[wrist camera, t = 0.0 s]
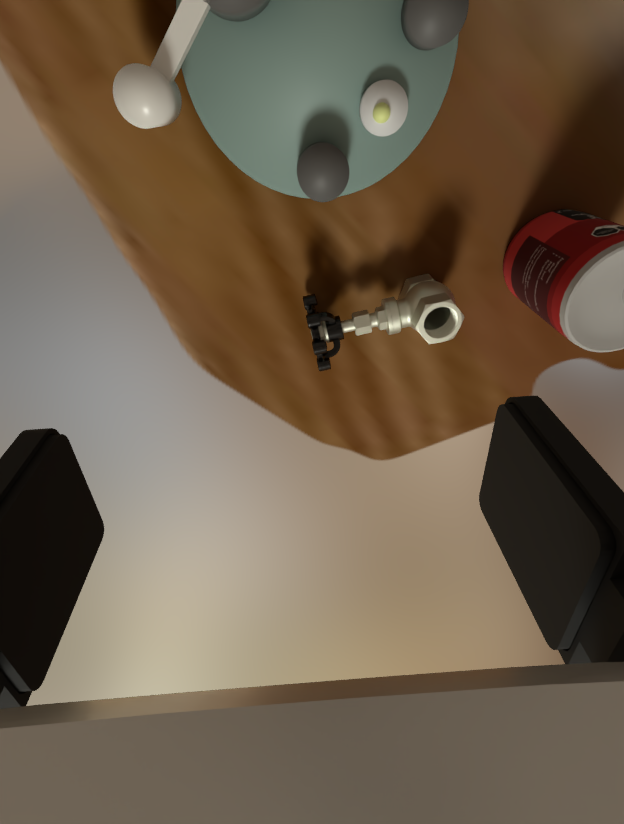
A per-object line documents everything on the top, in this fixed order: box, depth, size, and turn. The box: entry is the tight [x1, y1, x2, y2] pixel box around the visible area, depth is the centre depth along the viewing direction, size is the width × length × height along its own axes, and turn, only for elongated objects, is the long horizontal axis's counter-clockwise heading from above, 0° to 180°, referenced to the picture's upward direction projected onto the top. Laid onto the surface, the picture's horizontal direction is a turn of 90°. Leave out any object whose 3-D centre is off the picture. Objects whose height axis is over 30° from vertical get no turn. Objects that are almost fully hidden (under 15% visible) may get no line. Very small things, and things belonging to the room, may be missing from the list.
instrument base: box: [176, 0, 468, 202], centre depth 30 cm, size 18×18×4 cm
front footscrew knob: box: [113, 0, 271, 129], centre depth 26 cm, size 13×6×6 cm, turn 142°
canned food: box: [503, 209, 624, 352], centre depth 35 cm, size 8×8×11 cm
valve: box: [303, 274, 464, 371], centre depth 38 cm, size 7×7×12 cm
